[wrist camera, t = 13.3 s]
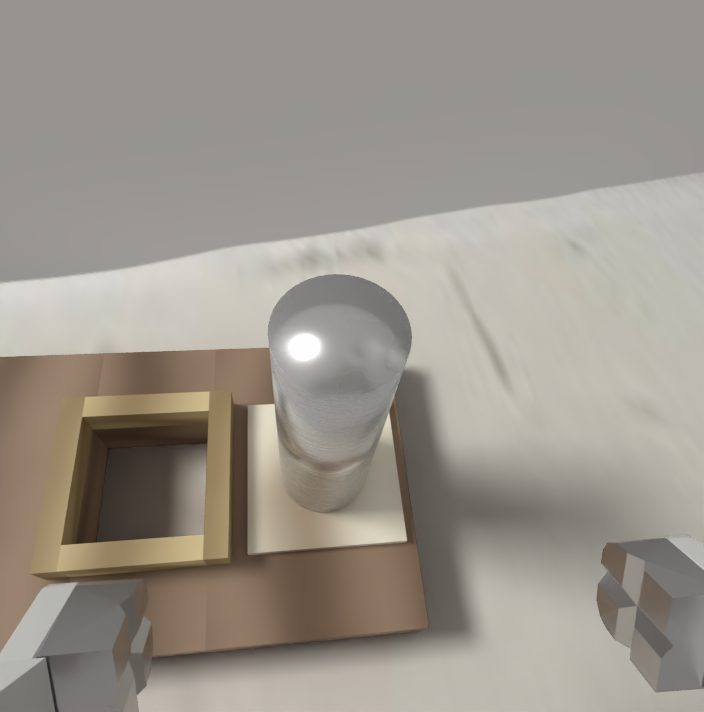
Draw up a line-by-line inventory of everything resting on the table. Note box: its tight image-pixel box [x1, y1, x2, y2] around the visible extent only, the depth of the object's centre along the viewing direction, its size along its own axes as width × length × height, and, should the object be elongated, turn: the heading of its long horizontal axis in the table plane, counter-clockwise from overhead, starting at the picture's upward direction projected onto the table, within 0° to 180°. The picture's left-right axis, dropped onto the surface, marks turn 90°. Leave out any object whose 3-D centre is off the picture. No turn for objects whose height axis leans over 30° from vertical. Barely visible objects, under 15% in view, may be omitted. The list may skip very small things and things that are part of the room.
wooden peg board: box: [0, 348, 429, 658], centre depth 25 cm, size 24×14×4 cm, turn 95°
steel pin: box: [268, 274, 412, 513], centre depth 20 cm, size 4×4×12 cm
